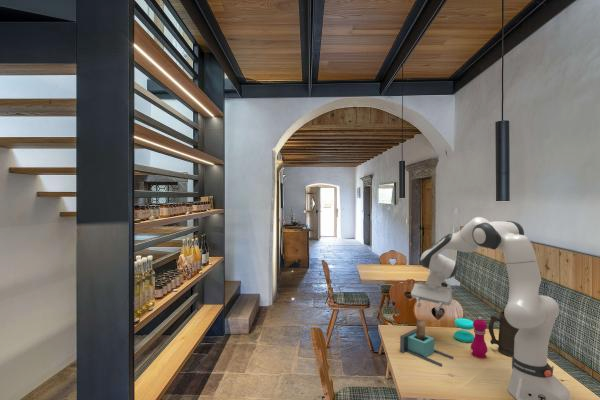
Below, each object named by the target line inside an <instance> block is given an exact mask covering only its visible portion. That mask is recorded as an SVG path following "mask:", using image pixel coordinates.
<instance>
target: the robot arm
mask: <svg viewBox="0 0 600 400" xmlns="http://www.w3.org/2000/svg"><path fill="white" fill-rule="evenodd" d="M481 247H482V248H487V249H490V250H493V251H494V250H497V249H499V250H500V251H501V252H502V254H503V257H504V262H505V267H506V268H505V269H506V271H507V272H506V273H507V276H508V277H507V278H508V284H509V287H508V288H509V289H508V299H507V304H506V306H505V307H504V310H503V311H504V315H505V318H506V320H507V322H508V323H509V324H510V325H511V326H513V327H515V328H518V329H519V330H518V332H517V333H516V335H515V339H514V355H513V357H511V368H512V370H511V377H510V381H509V383H508V387H507V390H508V392H509V394H510V395H511V396H512V397H514V398H515V400H572V398H571V394H570V390H569V388H568V387H567V386H566V385H564V384H563V383H562V382H561V381H560V380H559V379H558V378H557V377H556V376H555V375H554V369H555V368H554V365H552V366H551V365H550V364H549V362H548V350H549V342H550V338H551V335H552V331H553V328H554V325H555V322H556V320H557V317H558V316H559V315H560V306H559V304H558V302H557V301H556V300H555V299H554V298H552V297H550V296H548V295H543V294H539V292H540V285H541V283H542V276H541V272H540V267H539V263H538V259H537V255H536V252H535V249H534V247H533V244H532V242H531V241H530V238H529V237H528V236H527V235H525V231H524V228H523V226H522V225H521V224H520V223H518V222H516V221H512V220H504V221H500V220H498V221H497V220H495V221H493V220H492V221H490V220H488V219H487V218H484V217H481V216H476V217H474V218H472V219H471V220H470V221H469V222H467V223H466V224H465V225H464V226H463V227H462V228H461V229H460V230H459V231H457V232H454V233H449V234H446V235H444V236H443V237H442V238H441V239H439V240H438V241H437V242H436V243H435V244H433V245H432V246H430V248H427V249H426V250H424V251H423V253H422V254H421V256H420V259H419V262H420V264H421V266H422V267H423V268H426V269H428V270H429V275H428V276H427V278H426V281H425V282H419V281H417V282H414V284H413V287H412V289H411V292H410V295H411V297H412V298H413V299H415V300H416V307H420V308H421V306H422V304H421V301H426V302H429V303H435V304H438V305H437V306H435V307H434V310H435V311H436V312H439V311H440V309H441V308H442V307H443V306H448V307H449V306H451V304H452V302H453V295H452V294H453V289H452V287H451V285H450V284H449V283H447V282H445V281H446V280H449V279H452V278H454V277H455V276H456V274H457V272H458V264H457V262H456V261H455V260H454V259H451V258H449V257H448V256H445V255H443V254H441V253H442V252H444V251H445V250H453V251H458V252H462V253H473V252H475V251H477V250H478V249H479V248H481Z"/></svg>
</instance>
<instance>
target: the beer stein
mask: <svg viewBox="0 0 600 400" xmlns="http://www.w3.org/2000/svg"><path fill="white" fill-rule="evenodd" d="M499 313H500V314H499V317H498V316H497V315H494V314H492V315H490V320H489V323H488V325H487V329H488V332H489V335H490V338H491V339H490V344H491V345H497V346H498V347H497V350H498V352H499V353H501V354H502V355H503V356H507V357H510V358H513V355H514V339H515V335H516V333H517V332H518V330H519V329H518V328H515V327H513V326H511V325H510V324H509V323H508V322H507V320H506V318H505V315H504V310H501V312H499ZM495 322H499V325H498V326H499V328H498V339H496V336H495V331H494V323H495Z"/></svg>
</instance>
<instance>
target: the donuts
mask: <svg viewBox="0 0 600 400" xmlns="http://www.w3.org/2000/svg"><path fill="white" fill-rule="evenodd" d="M473 322H474V321H473V320H471V319H468V318H464V317H460V318H456V319H455V320H454V324H455V326H456V327H458V328H459V329H462V330H457V331H455V332H454V333H453V336H454V338H455V339H456V340H458V341H459V342H463V343H472V342H473V340H474V337H475V334H473V333H472V332H470V330H474V327H473ZM468 330H469V331H468Z"/></svg>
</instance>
